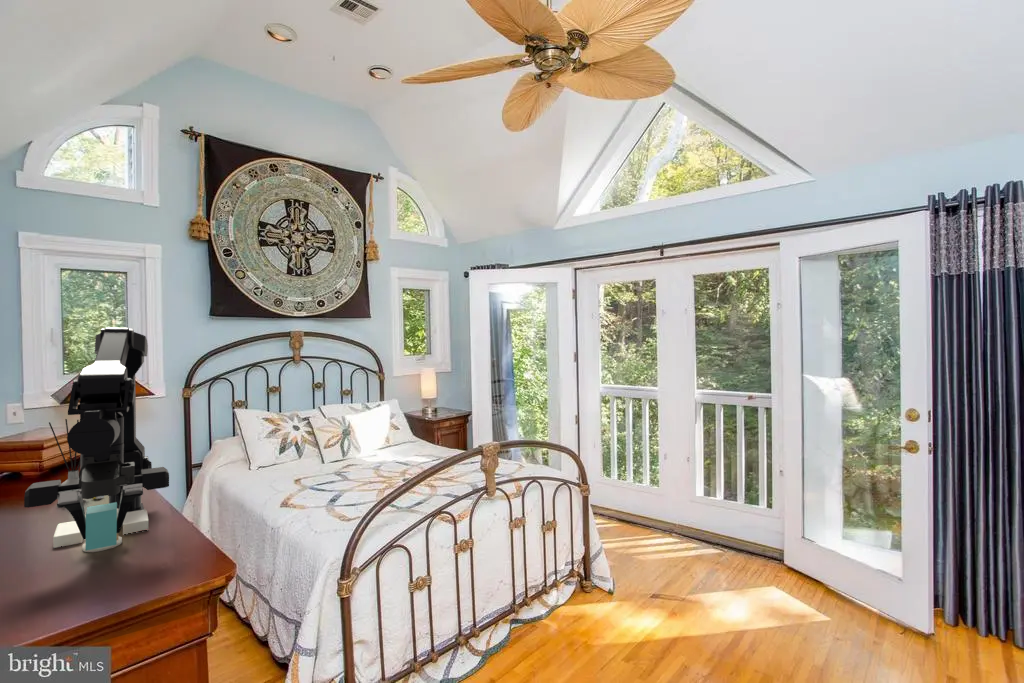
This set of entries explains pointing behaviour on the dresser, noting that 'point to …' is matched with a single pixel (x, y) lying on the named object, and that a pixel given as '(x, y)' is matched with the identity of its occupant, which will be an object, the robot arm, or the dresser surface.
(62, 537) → the notched board
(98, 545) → the teal rectangular block
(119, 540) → the bobbin
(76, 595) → the dresser surface
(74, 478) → the reed diffuser
